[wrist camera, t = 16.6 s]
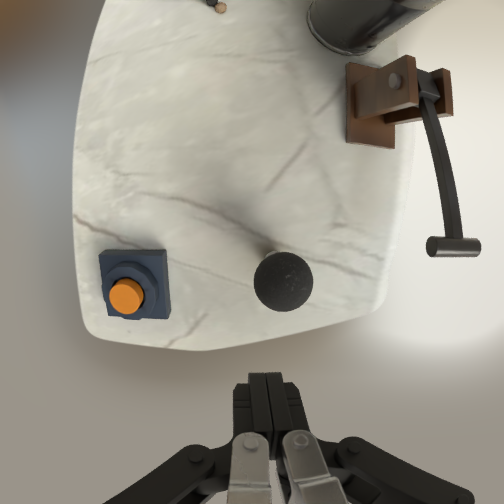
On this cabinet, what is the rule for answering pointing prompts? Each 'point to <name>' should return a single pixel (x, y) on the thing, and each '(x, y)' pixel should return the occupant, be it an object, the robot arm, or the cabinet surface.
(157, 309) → the dimmer box
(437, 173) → the switch lever
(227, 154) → the cabinet surface
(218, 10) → the beads
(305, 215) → the cabinet surface
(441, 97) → the switch bracket
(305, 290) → the light bulb
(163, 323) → the cabinet surface
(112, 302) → the button
